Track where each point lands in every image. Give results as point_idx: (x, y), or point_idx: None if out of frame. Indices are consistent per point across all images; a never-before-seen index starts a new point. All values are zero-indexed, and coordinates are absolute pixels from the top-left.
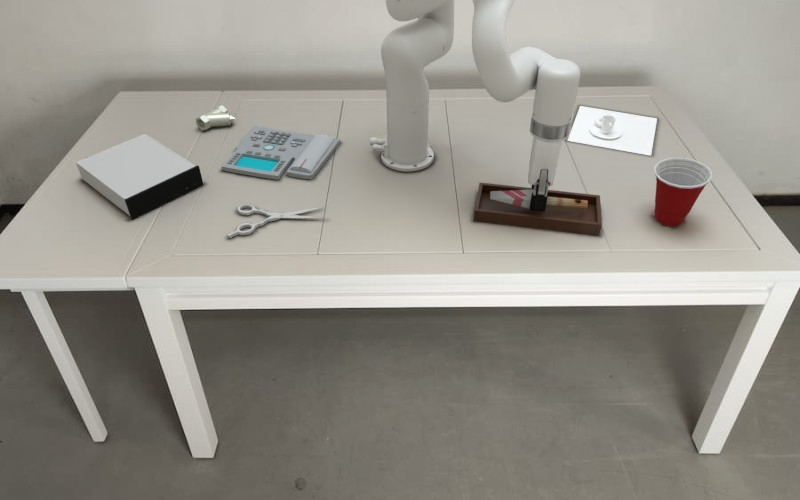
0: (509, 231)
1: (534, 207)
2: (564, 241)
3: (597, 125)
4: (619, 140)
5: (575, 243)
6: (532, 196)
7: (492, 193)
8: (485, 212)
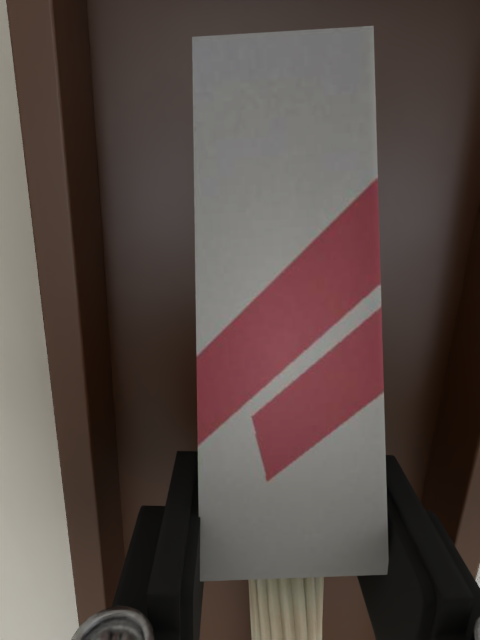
0: (11, 274)
1: (141, 513)
2: (20, 586)
3: None
4: None
5: (22, 631)
6: (152, 575)
7: (323, 60)
8: (9, 11)
